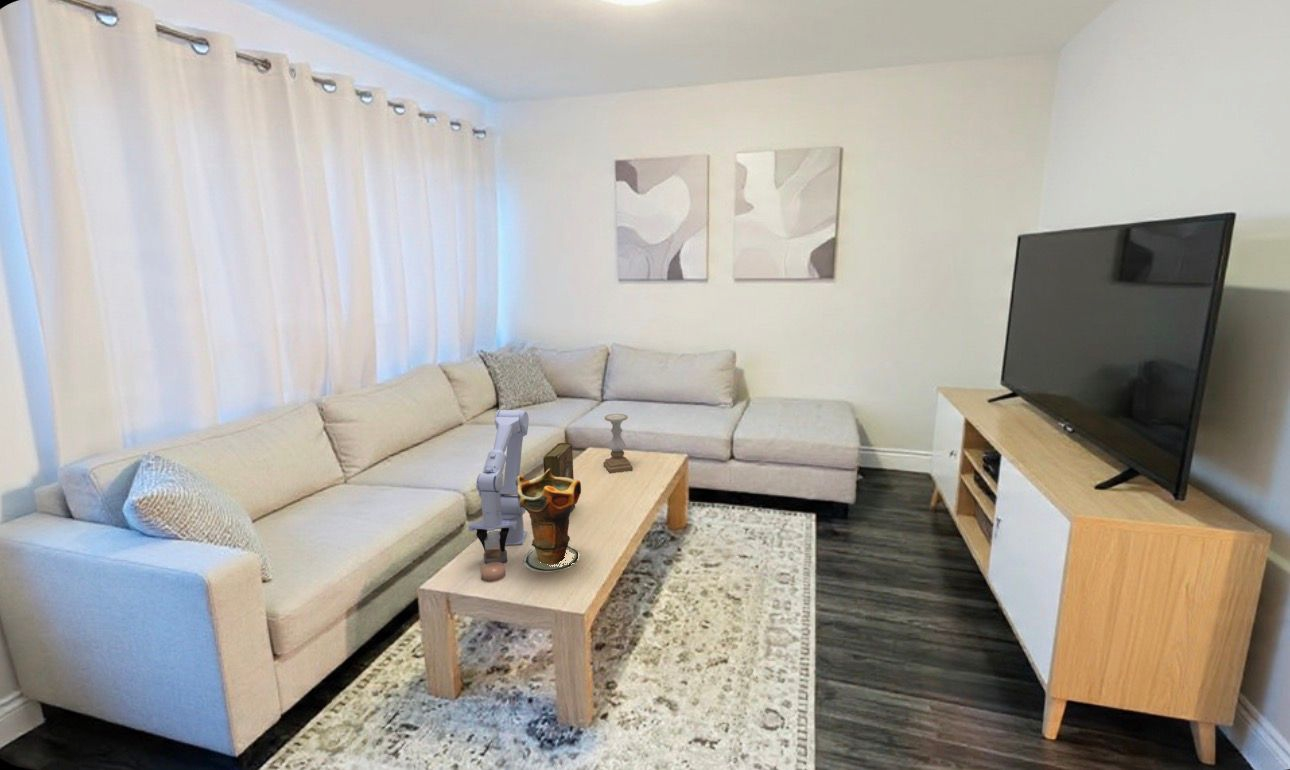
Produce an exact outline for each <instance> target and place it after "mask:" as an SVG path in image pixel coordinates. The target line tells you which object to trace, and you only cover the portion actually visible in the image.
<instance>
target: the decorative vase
mask: <svg viewBox="0 0 1290 770" xmlns="http://www.w3.org/2000/svg"><path fill="white" fill-rule="evenodd" d="M515 483H516V487H517V494H518V495H517V496H518V502H519V506H520V507H523V508H525V509H526V511H525V512H527V513H528V514H529V518H530V525H531V530H532V537H533V539H532V543H531V546H532V547H534V549H531V548H529V550H528V552H527V553H525V557H524V559H523V563H524V566H526V568H528V569H529V570H531V571H532V572H538V573H540V572H541V573H547V574H548V573H552V572H559V571H560V572H561V571H563V570H562V569H565V570H566V569H569V568H568V567H570V566H571V567H574V566H573V565H575V564H572V563H575V562H576V561H577V559H578V551H579V554H580V553H581V551H580V550H578V549H575V548H572V547H570V545H569V542H570V539H571V538H570V536H569V525H570V516H571V514H572V512H571V508H572V506H573V505H575V506H576V504H577V503H578V501H579V499H580V496H581V493H582V484H581V481H580V480H578V479H574V480H573V479H570V478H566V477H555V476H553V475H552V473H551V468H550V469H548V470H547V471H546V472H545V473H544V472H543V474H541V475H538V476H537V477H535V478H533V479H530V480H526V478H525V477H524V476H523V475H519V476H517V478H516V482H515ZM566 550H569V552H571V553H573V554H575V555H574V558H573V557H572V559H573V560H572V561H571V562H570V563H569V565H568V563H567V565H564V563H563V564H562V565H563V566H562V567H559V566H560V564H561V563H560V564H559V562H560V561H562V560H563V559H564V558H565V557H564V556H565V553H566ZM566 554H567V553H566ZM565 561H566V560H565ZM540 562H541V563H540ZM576 563H577V562H576ZM547 564H548V565H547ZM554 564H555V565H556V564H557V565H558V564H559V566H558V567H557V566H555V567H554V566H553V567H552V566H551V565H554ZM565 564H566V563H565ZM571 564H572V565H571ZM549 565H550V566H551V567H550V566H549ZM575 566H576V565H575ZM571 567H570V568H571Z"/></svg>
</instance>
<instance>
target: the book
mask: <svg viewBox="0 0 1290 770" xmlns="http://www.w3.org/2000/svg"><path fill="white" fill-rule="evenodd" d="M573 460H574V459H573V444H572V443H571V442H570V443H569V442H560V443H557V444H556V445H555V446H553V447H552V448H551V449H550V450H549V451H548V452H546V453H545V454H544V455H543V474H544V473H545V472H546V471H547V470H548V469H550V468H551V473H552V475H553V476H555V477H566V478H570V479H573V480H575V477H574V461H573ZM575 508H576V504H575V505H573V506H572V508H571V513H572V512H573V511H574V510H575Z"/></svg>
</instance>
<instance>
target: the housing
mask: <svg viewBox="0 0 1290 770" xmlns="http://www.w3.org/2000/svg"><path fill="white" fill-rule="evenodd" d="M500 531H501V530H494V531H487V536H486V538H485V540H484V543H485V550H484V553H485V555H486V559H493V558H501V556H502V553H503V552H502V550H501V538H500Z"/></svg>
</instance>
